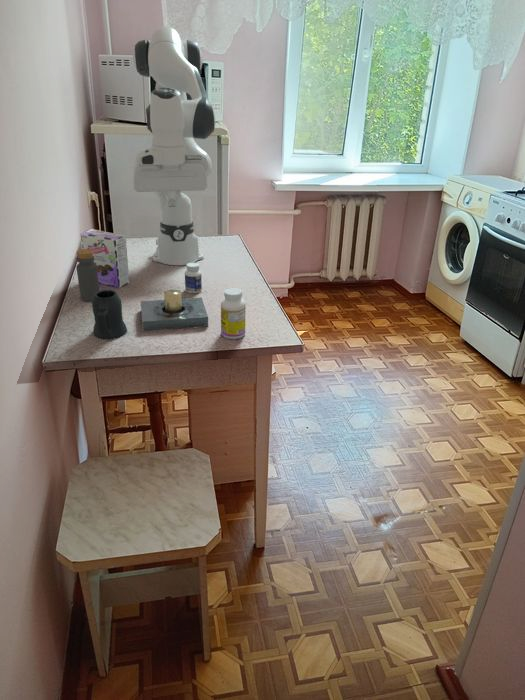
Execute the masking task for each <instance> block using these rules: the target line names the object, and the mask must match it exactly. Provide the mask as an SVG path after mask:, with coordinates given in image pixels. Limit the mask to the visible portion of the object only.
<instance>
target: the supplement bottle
mask: <svg viewBox="0 0 525 700" xmlns="http://www.w3.org/2000/svg"><path fill="white" fill-rule="evenodd" d="M223 294H224V298H223V299H222V300H221V301H220V334H221V336H222V337H223V338H225V339H227V340H238V339H242V338H243V337H245V335H246V310H247V309H246V305H247V303H246V300H245V299H243V291H242V290H241V289H240V288H236V287H232V288H227V289H225V290H224V292H223Z"/></svg>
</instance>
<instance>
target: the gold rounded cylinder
mask: <svg viewBox="0 0 525 700" xmlns="http://www.w3.org/2000/svg"><path fill="white" fill-rule="evenodd" d="M163 296H164V297H163V298H164V299H163V300H165V313H169V314H177V313H180V312H182V299H183V298H182V291H181V290H179V289H175V288H174V289H167V290H165V291H164V292H163Z"/></svg>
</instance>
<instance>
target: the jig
mask: <svg viewBox="0 0 525 700" xmlns="http://www.w3.org/2000/svg"><path fill="white" fill-rule="evenodd" d="M140 308H141V309H140V310H141V322H142V332H153V331H167V330H179V329H180V330H181V329H195V328H209V316H208V313H207V309H206V306H205V303H204V300H203V298H202V297H191V298H190V297H189V298H188V297H187V298H182V312H180V313H177V314H169V313H165V300H164V299H156V300H155V299H154V300H141V301H140Z"/></svg>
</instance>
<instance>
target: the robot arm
mask: <svg viewBox="0 0 525 700" xmlns="http://www.w3.org/2000/svg"><path fill="white" fill-rule="evenodd" d="M203 57H204V56H203V52H202V50H201V48H200V45H199V44H198V42H196V41H193V40H189V39H187V40H183V39H182V38H181V35H180V33H178V31H177V30H176V29H174V28H173V27H171V26H166V25H165V26H159V27H158V28H156V29H155V30H154V31H153V32H152V35H151V37H150V39H149V40H148V39H143V40H142V39H141V40H139V41H138V42H136V43H135V45H134V49H133V53H132V61H133V64H134V67H135V69H136V72H137V73H138V74H139V75H140V76H143V77H146V78H150V77H152V79H153V80H154V81H155V82H156V83H155V89H153V90H152V91H151V93H150V102H149V103H150V104H149V105H148V106H147V107H146V108H145V115H146V125H147V126H146V128H147V130H148V131H149V132H150V133H151V134H152V139H151V147H150V148H148V149H147V148H146V149H144V150H141V151H139V152H137V153H136V155H135V159H136V160H135V163H134V164H135V165H134V168H133V189H134V190H135V191H136V192H137V193H149V192H150V193H154V194H156V198H157V200H158V203H159V211H160V224H159V228H160V234H159V236H158V237H157V238H155V245H156V246H157V247H156V250H155V252H154V255H153V256H152V261H153V262H158V263H161V264H163V265H169V266H170V265H171V266H187V264H188V263H197V261H200V260H201V261H202V260H204V258H205V256H204V254H203V253H202V252H201V251H200V248H199V247H200V246H199V245H200V244H199V237H198V236H197V235H196V234H195V232H194V231H195V224H194V221H193V208H192V207H193V206H192V200H191V199H190V197H189V196H188V195H187V194H186V193H183V192H192V191H193V192H195V191H196V192H197V191H199V192H200V191H206V190H207V188H208V179H209V177H210V176H211V174H212V169H213V164H212V160H211V156H209V154H208V153H207V152H206V151H205V150H204V149H203V148H201V146H199V145H198V144H197V142H196V141H195V139H198V140H206V139H207V138H209V137H210V136H212V134H213V133H214V132H215V128H216V115H215V111H214V109H213V105H212V103H211V102H210V100H209V97H208V95H207V91H206V89H205V85H204V83H203V80H202V77H201V74H200V73H201V69H202V68H203V63H204V62H203V61H204V59H203ZM187 94H188V95H189V96H190V98H191V99H188V97H187Z"/></svg>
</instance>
